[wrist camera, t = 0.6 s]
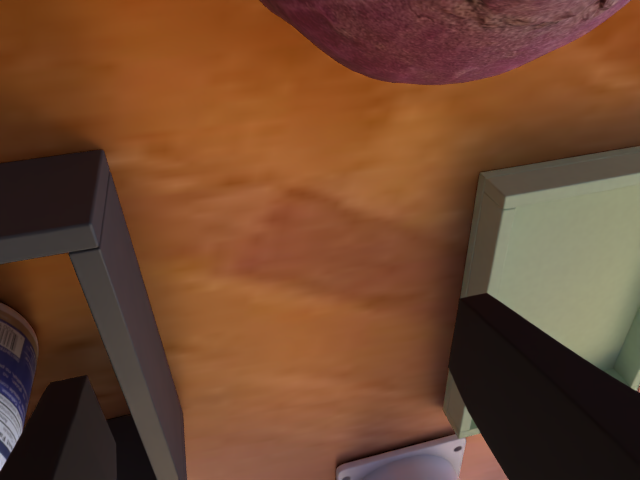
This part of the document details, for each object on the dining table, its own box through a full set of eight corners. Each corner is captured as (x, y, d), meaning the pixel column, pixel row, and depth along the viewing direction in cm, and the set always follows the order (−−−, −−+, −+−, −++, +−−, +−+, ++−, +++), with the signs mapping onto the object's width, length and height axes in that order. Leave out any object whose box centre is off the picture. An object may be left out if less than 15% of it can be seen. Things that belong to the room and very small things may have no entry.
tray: (612, 366, 32) (636, 391, 31) (442, 409, 30) (458, 439, 29) (711, 133, 23) (751, 152, 22) (479, 172, 21) (505, 196, 20)
